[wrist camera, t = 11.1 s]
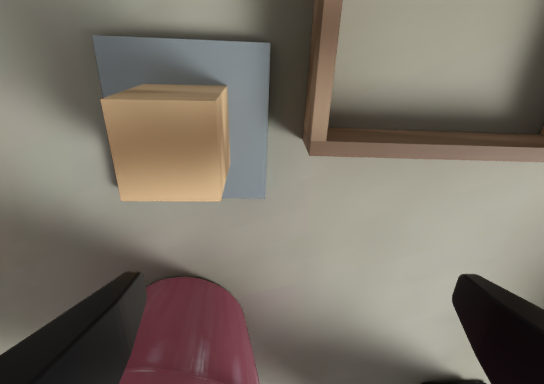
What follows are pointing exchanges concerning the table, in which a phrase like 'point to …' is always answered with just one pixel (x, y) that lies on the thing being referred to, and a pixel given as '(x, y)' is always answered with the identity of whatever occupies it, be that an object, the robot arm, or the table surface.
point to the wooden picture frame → (382, 140)
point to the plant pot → (191, 337)
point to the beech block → (169, 141)
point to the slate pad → (202, 71)
